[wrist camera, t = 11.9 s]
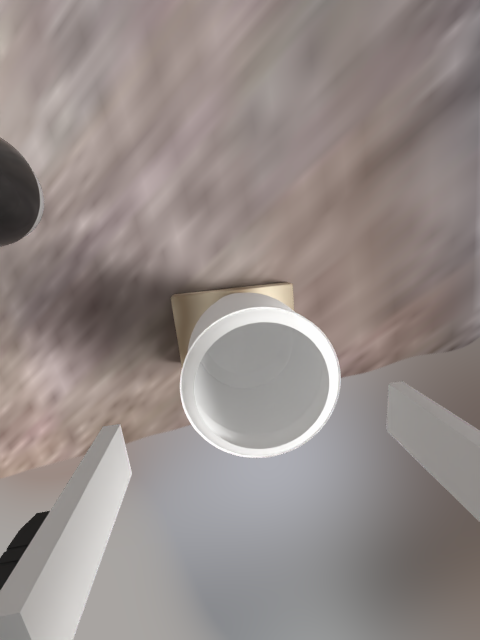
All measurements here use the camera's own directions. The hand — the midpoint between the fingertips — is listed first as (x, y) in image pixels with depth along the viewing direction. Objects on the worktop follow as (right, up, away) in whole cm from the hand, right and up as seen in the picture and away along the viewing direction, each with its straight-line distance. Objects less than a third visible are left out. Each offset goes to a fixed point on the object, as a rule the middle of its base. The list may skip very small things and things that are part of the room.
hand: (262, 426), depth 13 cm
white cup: (-1, +4, +19) cm, 19 cm away
